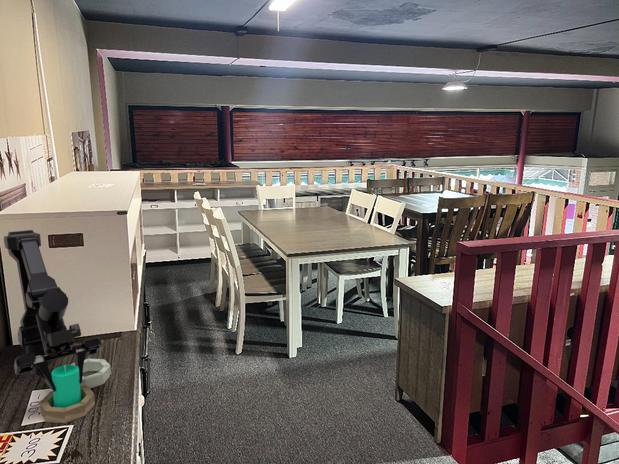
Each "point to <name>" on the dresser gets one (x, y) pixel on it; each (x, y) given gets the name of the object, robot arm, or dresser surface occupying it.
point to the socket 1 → (70, 412)
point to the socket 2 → (98, 377)
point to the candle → (66, 386)
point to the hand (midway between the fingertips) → (68, 387)
